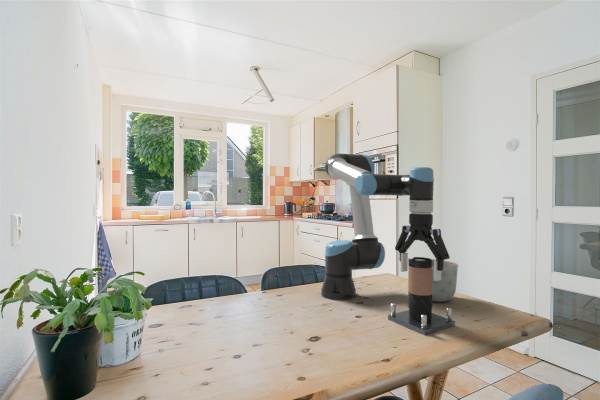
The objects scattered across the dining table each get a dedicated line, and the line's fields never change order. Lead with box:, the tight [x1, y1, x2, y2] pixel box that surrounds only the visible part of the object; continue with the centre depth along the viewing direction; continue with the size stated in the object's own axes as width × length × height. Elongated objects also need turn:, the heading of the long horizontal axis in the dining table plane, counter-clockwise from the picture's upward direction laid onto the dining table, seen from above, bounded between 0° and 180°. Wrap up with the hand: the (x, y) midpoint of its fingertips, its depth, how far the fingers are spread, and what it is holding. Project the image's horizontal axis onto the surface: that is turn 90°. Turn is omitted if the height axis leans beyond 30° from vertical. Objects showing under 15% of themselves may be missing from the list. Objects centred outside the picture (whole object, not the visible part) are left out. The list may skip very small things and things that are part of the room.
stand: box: [387, 302, 456, 336], centre depth 108 cm, size 15×15×6 cm
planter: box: [431, 258, 459, 303], centre depth 135 cm, size 17×17×15 cm
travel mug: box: [407, 256, 433, 321], centre depth 108 cm, size 8×8×20 cm
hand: (419, 275), depth 109 cm, fingers open, 13 cm apart
